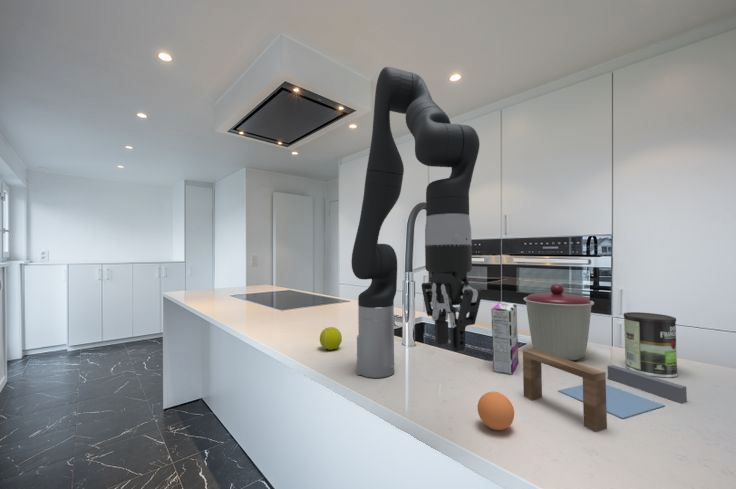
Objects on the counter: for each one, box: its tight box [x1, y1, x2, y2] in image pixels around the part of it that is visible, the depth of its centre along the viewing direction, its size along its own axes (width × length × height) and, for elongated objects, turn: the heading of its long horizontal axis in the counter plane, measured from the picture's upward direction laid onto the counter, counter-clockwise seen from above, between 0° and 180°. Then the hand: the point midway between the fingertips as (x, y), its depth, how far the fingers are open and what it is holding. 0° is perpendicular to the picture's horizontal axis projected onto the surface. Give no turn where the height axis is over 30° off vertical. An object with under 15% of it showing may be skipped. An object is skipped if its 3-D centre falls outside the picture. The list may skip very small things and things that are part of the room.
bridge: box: [522, 348, 608, 433], centre depth 63 cm, size 3×15×10 cm, turn 22°
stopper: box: [607, 364, 688, 404], centre depth 72 cm, size 2×14×3 cm, turn 22°
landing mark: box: [557, 384, 666, 420], centre depth 68 cm, size 13×13×1 cm
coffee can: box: [623, 311, 678, 379], centre depth 84 cm, size 10×10×14 cm
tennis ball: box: [319, 326, 343, 351], centre depth 104 cm, size 7×7×7 cm
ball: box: [477, 391, 515, 431], centre depth 57 cm, size 6×6×6 cm
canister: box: [523, 283, 595, 362], centre depth 96 cm, size 18×18×21 cm
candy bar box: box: [490, 302, 520, 375], centre depth 87 cm, size 11×5×16 cm, turn 148°
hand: (449, 346), depth 54 cm, fingers open, 3 cm apart
